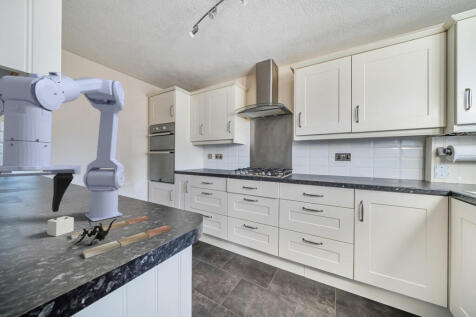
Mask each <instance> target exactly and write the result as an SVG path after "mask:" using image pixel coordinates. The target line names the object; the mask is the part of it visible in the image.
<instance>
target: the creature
mask: <svg viewBox="0 0 476 317" xmlns="http://www.w3.org/2000/svg"><path fill="white" fill-rule="evenodd" d="M116 220H117V218H115V219H113V220H112V221H110V223H109V224H110V225H109V224H108V225H109V228H108V229H107V230H106V231H105V230H103V228H102V226H103V225H102V223H101V222H99V225H95V226H93V225H92V224H91V222H90V221H88V223H89V225H90V226H89V227H90V228H88V229H86V228H83V229H82V231H84V232H83V234H80V235H81V237H79V236H80V235H79V236H78V238H77V239H79V238H80V239H79V240H77V242H75V243H74V244H72V245H70V246H69V248H71V247H73V246H81V245H83V243H82V241H83V240H84V239H85V238H86V237H88V238H91V237H92V236H94V237H93V239H92V240H91V241H90V243H89V244H86V242H85V243H84V245H86V246H88V247H89V246H92V245H93V242H94V241H95V240H97V241H99V242H102V240H105V239H106V237H107V236H108V234H109V231H110V230H111V229H110V228H111V226H112V224H114V223H115V221H116ZM93 228H94V229H93ZM97 228H98V229H99V231H98V230H97ZM91 229H92V230H93V231H92V230H91ZM89 230H91V232H90V233H88V231H89ZM96 232H97V233H96ZM86 234H87V236H86ZM82 236H83V237H82ZM80 243H81V244H80ZM77 244H78V245H77Z"/></svg>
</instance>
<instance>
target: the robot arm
mask: <svg viewBox="0 0 476 317" xmlns="http://www.w3.org/2000/svg"><path fill="white" fill-rule="evenodd" d="M60 73H61V72H58V71H48V75H47V74H45V75H42V74H41V73H33V72H32V73H29V76H20V75H19V76H18V75H17V76H16V75H4V76H2V77H1V78H0V112H1V115H3V134H2V135H3V139H2V140H3V142H2V165H0V178H8V177H9V178H11V177H13V178H15V177H32V176H35V177H36V176H37V177H38V176H39V177H40V176H52V180H53V181H52V182H53V183H52V184H53V185H52V186H53V190H52V192H53V195H52V204H51V211H52V212H53V213H56V212H59V209H60V205H61V202H62V199H63V197H64V195H65V193H66V191H67V189H68V187H69V186H70V184H71V183H72V182H73V179H74V175H81V174H82V165H81V164H77V165H76V164H73V165H72V164H66V165H65V164H63V165H62V164H52V131H53V130H52V128H53V111H58V110H59V109H60V108H61V106H62V104H66V103H69V102H73V101H77V99H79V98H80V95H82V94H83V96H84V97H85V99H86V100H87V101H88V102H89V104H90V105H91V106H92V107H93V108H94V109H96V110H98V111H99V112H100V113H99V114H100V116H99V126H98V136H97V138H98V139H97V146H96V147H97V149H96V158H95V159H94V160H92V162H90V163H88V164H87V165H86V170H85V173H84V174H83V177H82V181H83V183H84V184H83V185H84V186H85V188H87V190H88V191H90V194H89V195H88V196H89V197H88V213H85V214H84V216H85V217H86V218H88V219H89V220H90V221H92V222H97V221H103V220H107V219H111V218H117V217H121V216H123V213H122V212H120V211H119V189H121V188H122V186H123V185H124V184H125V181H126V174H125V165H123V164H122V163H120V162H119V161H118V160H117V159H116V158H117V157H116V154H117V142H118V130H119V119H120V118H119V117H120V112H121V111H123V110H124V107H125V95H126V94H125V90H124V87H123V85H122V83H121V82H120V81H119V80H112V79H106V78H98V77H88V76H82V77H78V78H71V77H69V76H67V75H65V74H64V75H63V74H61V82H60ZM58 82H60V83H58ZM32 171H33V172H32ZM36 171H37V172H36ZM38 171H42V172H38ZM13 172H20V173H13ZM21 172H23V173H21Z"/></svg>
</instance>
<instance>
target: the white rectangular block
mask: <svg viewBox="0 0 476 317" xmlns="http://www.w3.org/2000/svg"><path fill="white" fill-rule="evenodd" d="M74 219H75V218H74V217H71V216H67V215H66V216H64V215H63V216H60V217H55V218H51V219H47V227H46V228H47V230H46V232H47V233H46V234H47V235H49V236H51V237H52V236H53V237H59V236H62V235H65V234H68V233H69V234H70V233H73V232H74V225H75V224H74V222H75V220H74Z"/></svg>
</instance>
